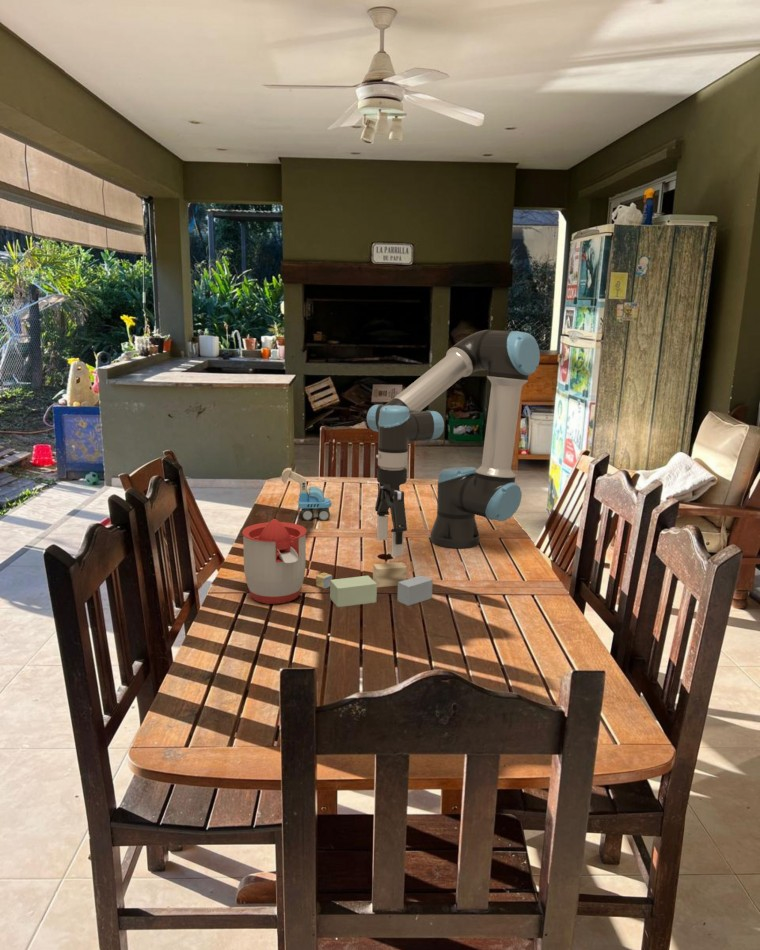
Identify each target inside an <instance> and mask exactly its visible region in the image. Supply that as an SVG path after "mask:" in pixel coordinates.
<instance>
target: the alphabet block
mask: <svg viewBox="0 0 760 950" xmlns="http://www.w3.org/2000/svg"><path fill="white" fill-rule="evenodd" d="M330 580H333V575H332V574H329V573H327V572H321V573H319V574H316V576H315V583H316V584H315V585H316V586H315V587H318V588H322V589H328V588H330Z"/></svg>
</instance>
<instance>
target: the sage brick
mask: <svg viewBox="0 0 760 950" xmlns="http://www.w3.org/2000/svg"><path fill="white" fill-rule="evenodd" d="M377 590H378V587H377V583H375V582H374V581H373V578H372V577H370V575H362V576H352V577H346V578H345V577H343V578H337V579H332V580H330V587H329V591H330V592H329V595H330V596H329V598H330V600H331V601H332V602H333V604H335V607H336V608H341V607H350V606H358V605H365V604H366V605H367V604H374V603H377V592H378V591H377Z"/></svg>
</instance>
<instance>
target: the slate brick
mask: <svg viewBox="0 0 760 950" xmlns="http://www.w3.org/2000/svg"><path fill="white" fill-rule="evenodd" d="M396 598H397V600H396V601H397V602H399V603H401V604H404V605H405V606H408V607H409V606H413V605H416V604H419V603H422V602H424V601H428V600H430V599H432V598H433V579H432V578H430V577H427V576H424V575H417V576H415V577H414V576H413V577H411V578H408V579H407V580H404V581H400V582H398V586H397V597H396Z"/></svg>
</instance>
